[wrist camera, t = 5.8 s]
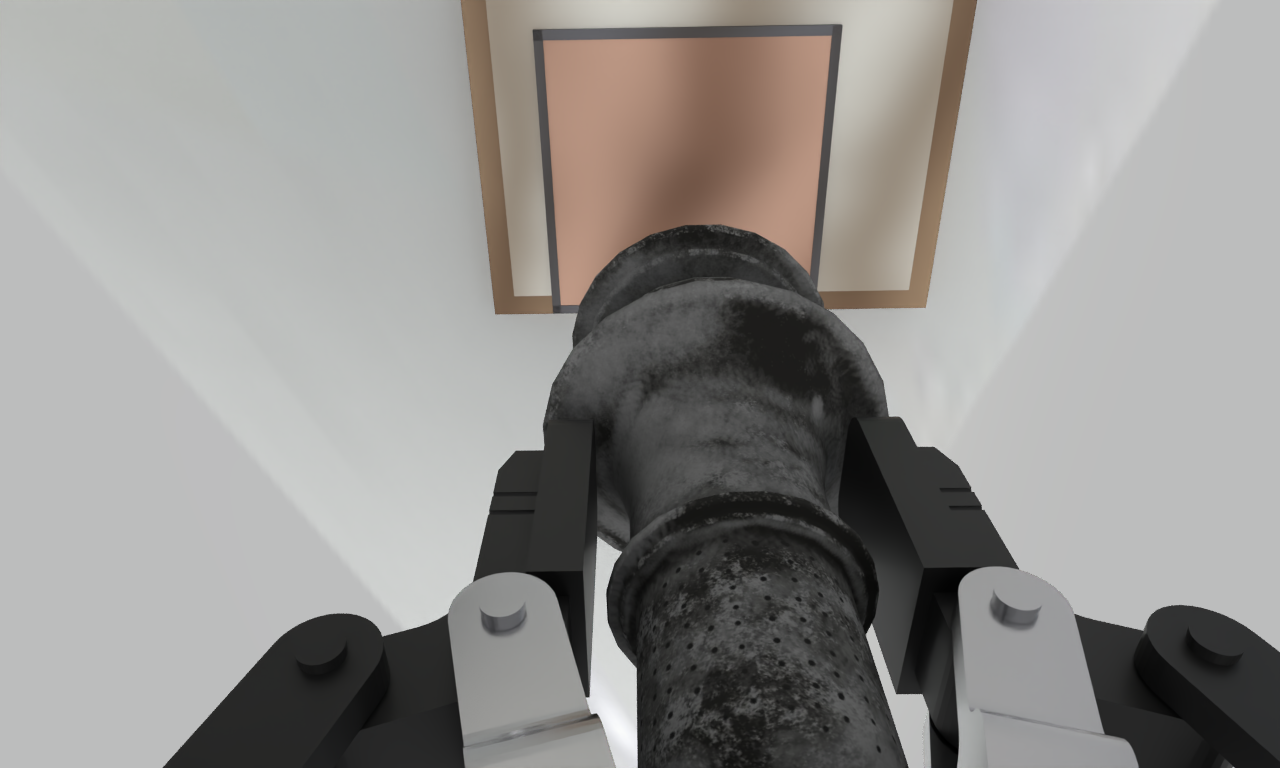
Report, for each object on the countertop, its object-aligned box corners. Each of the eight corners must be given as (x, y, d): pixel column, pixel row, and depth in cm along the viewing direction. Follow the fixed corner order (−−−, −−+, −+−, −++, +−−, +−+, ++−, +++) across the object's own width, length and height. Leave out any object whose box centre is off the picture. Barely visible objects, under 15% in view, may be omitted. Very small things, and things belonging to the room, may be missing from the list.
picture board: (498, 305, 32) (486, 340, 29) (433, -297, 23) (407, -325, 20) (924, 298, 32) (950, 333, 29) (1025, -308, 23) (1075, -337, 20)
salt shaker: (585, 477, 19) (533, 1178, 8) (531, 232, 16) (350, 840, 6) (845, 444, 19) (1122, 1133, 8) (838, 187, 16) (1257, 749, 5)
